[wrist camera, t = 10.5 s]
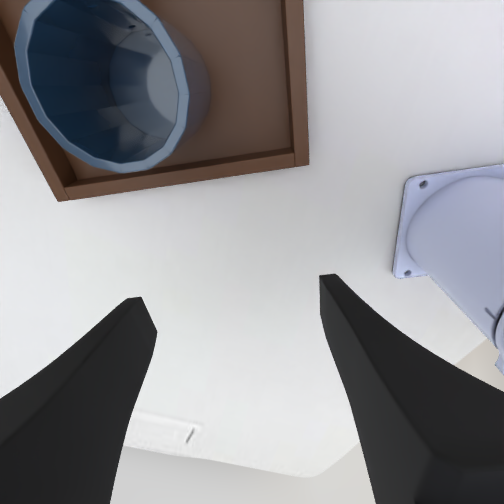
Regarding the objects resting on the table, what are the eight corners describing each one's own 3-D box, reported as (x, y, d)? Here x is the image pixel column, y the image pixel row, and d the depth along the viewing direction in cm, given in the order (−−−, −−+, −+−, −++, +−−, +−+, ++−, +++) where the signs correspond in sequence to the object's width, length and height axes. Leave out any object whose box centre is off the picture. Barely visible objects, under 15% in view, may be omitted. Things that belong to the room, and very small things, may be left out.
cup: (220, 135, 16) (205, 161, 11) (129, 150, 17) (68, 182, 11) (182, -68, 12) (121, -203, 6) (60, -42, 12) (-97, -147, 7)
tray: (287, -172, 11) (295, -223, 9) (303, 157, 17) (309, 165, 15) (-62, -90, 12) (-117, -120, 10) (76, 191, 18) (57, 202, 17)
